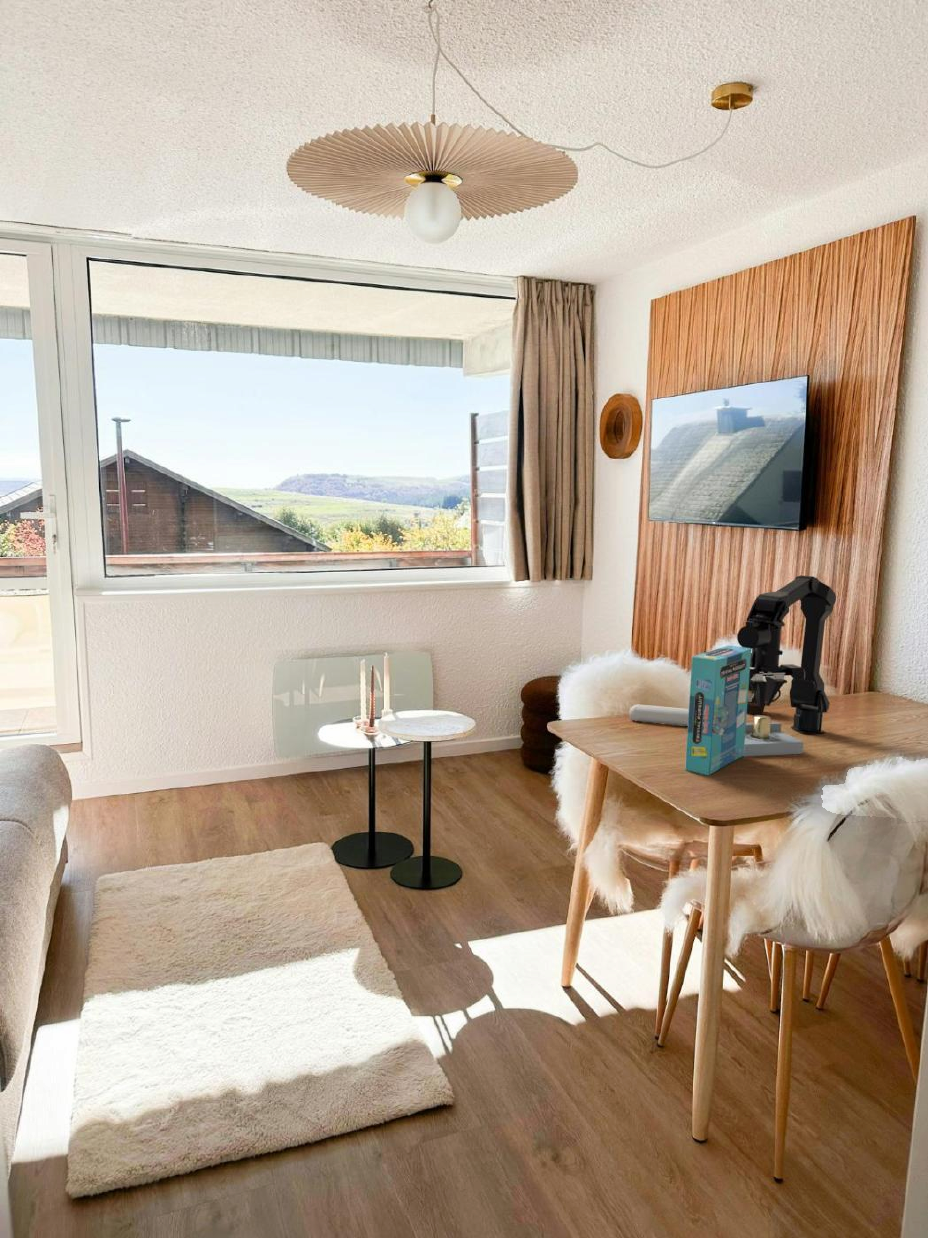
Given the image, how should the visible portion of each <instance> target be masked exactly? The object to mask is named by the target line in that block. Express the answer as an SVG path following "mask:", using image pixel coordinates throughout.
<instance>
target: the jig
mask: <svg viewBox="0 0 928 1238" xmlns="http://www.w3.org/2000/svg"><path fill="white" fill-rule="evenodd" d="M753 728H754V722H746V729H745V743H744V756H743V757H754V756H755V757H757V756H761V757H762V756H777V755H778V756H781V755H798V754H799V755H801V754H803V753H804V752H803V751H804V741H802V740H800V739H798V738H796V737H794V736H793V735H792V736H791V735H789V734H788V733H785V732H783V731H782V723H781V722H779V721H771V725H770V738H769V740H762V739H756V738H753Z"/></svg>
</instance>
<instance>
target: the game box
mask: <svg viewBox="0 0 928 1238" xmlns="http://www.w3.org/2000/svg"><path fill="white" fill-rule="evenodd" d="M751 653H752V649H751V648H745V647H741V646H736V645H735V646H734V645H726V646H722V647H719V648H716V649H713V650H710V651H706V652H703V653H700V654H697V655H696V654H695V655H694V656H692V657H691V669H690V671H691V672H690V687H689V703H688V709H689V713H688V727H687V730H686V731H687V732H686V734H687V735H686V746H685V761H684V770H685V771H687V772H692V773H696V774H699V775H704V776H711V775H712V774H714V773H715V772H717V771H719V770H720V769H722V768H724V767H726V766H728V765H730V764H732V763H733V762H735V761H736V760H739V759H740V758H742V757H745V756H744V743H745V729H746V723H747V715H748V714H747V701H748V687H749V672H750V669H751V667H750V659H751Z"/></svg>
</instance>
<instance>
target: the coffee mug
mask: <svg viewBox="0 0 928 1238" xmlns="http://www.w3.org/2000/svg"><path fill="white" fill-rule="evenodd" d="M763 681H766V679H765V677H763ZM766 688H767V682H766V685H765V691H764V698H763V703H762V706H758V704H757V701H756V697H755V694H754V691H753V688H752V686H751V684H750V682H749V687H748V701H747V715H750V716H751V715H754V716H757V715H763V714H764V711H765V707H767V706H766V701H765V699H766ZM777 693H778V696H776V698H774V699H773V700H772V702H771V704H772V703H773V702H776V700H779V698H780V697H781V696H782V695H781V694H782V692H781V689H780V690H779V691H778V692H777Z"/></svg>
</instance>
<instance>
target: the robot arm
mask: <svg viewBox="0 0 928 1238" xmlns="http://www.w3.org/2000/svg"><path fill="white" fill-rule="evenodd" d="M836 600H837V595H836V592H835V591H834V590H833V589H832V588H831V586H829V585H827V584H825V583H823V582H822V581H820V580H819V579H818V578H817V577H815V576H813V575H802V574H800V575H797V576H796V577H795V579H793V580H792V581H790V582H788V583H787V584H785V585H784V586H783V587H781V588H779V589H778V590H777V591H770V592H768V591H767V592H763V593H761V594H759V595H758V596H757V597H756V598H755V600H754V601H753V603H752V605H751V607H750V610H749V612H748V615H747V617H746V621H745V626H742V627H741V628H740V629H739V630H738V633H737V634H736V639H737V642H738V644H739V646H740V647H745V648H751V659H750V672H749V682H750V684H751V686H752V688H753V691H754V694H755V697H756V701H757V704H758V706H762V703H763V698H764V691H765V685H766V682H767V688H766V699H765V701H766V702H765V703H766V706H765V707H769V706H771V704H772V703H773V702H772V700H774V699H775V697H776V696H777V694H778V693H779V692H778V691H779V690H780V691H781V688H782V687H783V686H784V684H787V683H788V680H787V679H785V676H787V677H788V676H790V677H791V678H792V679H791V681H790V683H791V687H790V689H789V699H790V707H791V708H795V713H793V724H792V725H791V726H790V728H791V729H793V730H795V731H797V732H799V733H801V734H804V735H810V734H811V735H813V734H814V735H815V734H816V735H817V734H825V733H826V731H825V730H823V729H822V725H823V714H825V713H828V711H829V709H830V700H829V699H828V695H826V692H825V682H824V680H823V679H822V676H821V674H820V669H821V661H822V660H821V659H822V651H823V643H824V642H823V641H824V634H825V633H824V632H825V626H826V620H827V619H828V617H830V615H831V614H832V613H833V611H834V607H835V604H836V602H837V601H836ZM798 601H799V602H800V610H801V612H802V614H803V616H804V618H805V623H804V624H805V625H804V632H803V633H804V634H803V643H802V651H801V661H800V666H799V665H796V664H780V656H783V653H784V652H783V650H781V639H782V638H781V637H782V627H785V626H786V624H785V622H784V621H783V620H784V618H785V617H786V616H787V615H788V614H789V612H790V607H791V606H792V605H794V604H795V603H797V602H798ZM779 664H780V665H779ZM763 678H765V679H766V681H763ZM771 702H772V703H771Z"/></svg>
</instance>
